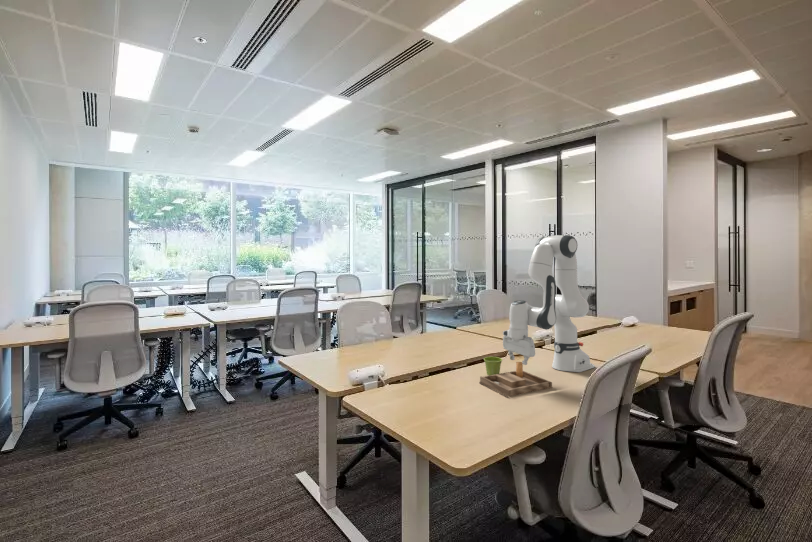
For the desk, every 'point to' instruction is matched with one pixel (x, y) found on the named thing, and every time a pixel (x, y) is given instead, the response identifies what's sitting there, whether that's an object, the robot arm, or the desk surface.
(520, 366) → the dowel
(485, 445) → the desk surface
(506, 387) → the channel
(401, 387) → the desk surface
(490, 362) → the plant pot
